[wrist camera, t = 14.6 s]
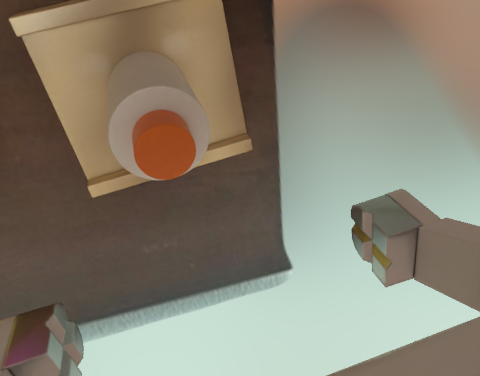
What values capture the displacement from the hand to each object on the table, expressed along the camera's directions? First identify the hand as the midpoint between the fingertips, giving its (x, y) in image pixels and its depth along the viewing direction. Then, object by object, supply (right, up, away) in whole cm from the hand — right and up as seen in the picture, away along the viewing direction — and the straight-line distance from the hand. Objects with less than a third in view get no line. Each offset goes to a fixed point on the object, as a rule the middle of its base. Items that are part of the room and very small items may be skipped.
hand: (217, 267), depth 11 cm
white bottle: (-5, +9, +15) cm, 18 cm away
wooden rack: (-6, +9, +17) cm, 20 cm away
